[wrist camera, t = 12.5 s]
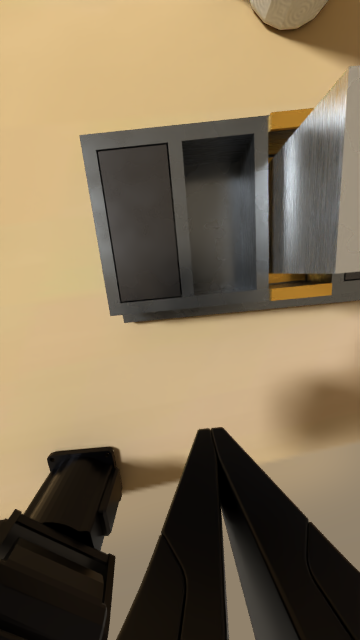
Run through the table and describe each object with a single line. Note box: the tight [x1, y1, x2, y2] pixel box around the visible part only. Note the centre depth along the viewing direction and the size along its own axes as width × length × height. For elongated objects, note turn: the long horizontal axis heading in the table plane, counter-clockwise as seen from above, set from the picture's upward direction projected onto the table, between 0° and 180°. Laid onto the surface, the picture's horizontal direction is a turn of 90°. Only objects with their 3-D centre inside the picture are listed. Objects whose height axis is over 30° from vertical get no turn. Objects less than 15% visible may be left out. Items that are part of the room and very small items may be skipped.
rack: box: [79, 108, 360, 323], centre depth 15 cm, size 21×13×4 cm, turn 95°
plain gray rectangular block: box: [268, 66, 360, 274], centre depth 12 cm, size 3×7×8 cm, turn 5°
